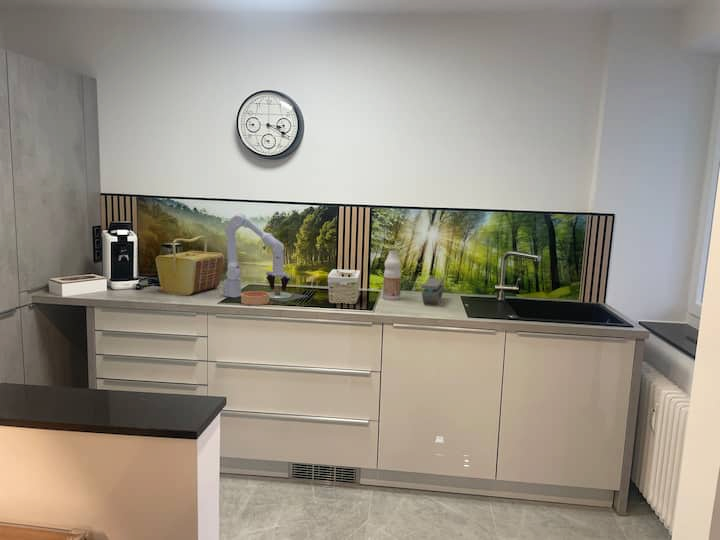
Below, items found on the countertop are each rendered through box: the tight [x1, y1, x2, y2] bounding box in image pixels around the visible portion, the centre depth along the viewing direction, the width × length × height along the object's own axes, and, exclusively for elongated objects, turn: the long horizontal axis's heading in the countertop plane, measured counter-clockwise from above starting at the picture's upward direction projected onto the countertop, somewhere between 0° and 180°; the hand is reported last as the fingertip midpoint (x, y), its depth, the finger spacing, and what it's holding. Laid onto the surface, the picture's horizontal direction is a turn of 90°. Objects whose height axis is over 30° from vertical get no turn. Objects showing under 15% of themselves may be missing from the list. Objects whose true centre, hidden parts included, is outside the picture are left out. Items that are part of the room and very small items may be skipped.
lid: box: [268, 284, 291, 299], centre depth 310 cm, size 15×15×6 cm
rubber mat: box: [268, 290, 309, 304], centre depth 311 cm, size 22×20×1 cm
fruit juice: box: [382, 247, 402, 301], centre depth 314 cm, size 9×9×28 cm
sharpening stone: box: [421, 277, 445, 306], centre depth 310 cm, size 25×8×11 cm, turn 164°
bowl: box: [240, 290, 270, 306], centre depth 296 cm, size 14×14×4 cm
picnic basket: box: [155, 235, 225, 296], centre depth 320 cm, size 29×26×30 cm
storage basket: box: [327, 268, 361, 305], centre depth 309 cm, size 24×16×15 cm
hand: (278, 289), depth 311 cm, fingers open, 7 cm apart
